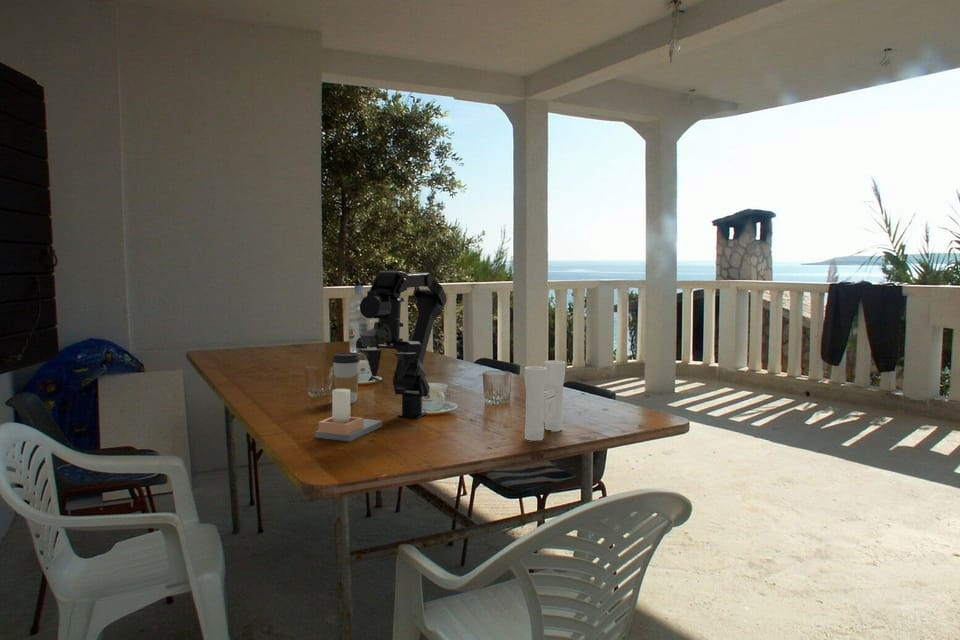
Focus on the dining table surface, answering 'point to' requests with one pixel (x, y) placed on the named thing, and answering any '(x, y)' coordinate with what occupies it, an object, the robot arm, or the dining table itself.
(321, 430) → the candle stand
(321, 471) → the dining table surface
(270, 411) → the dining table surface
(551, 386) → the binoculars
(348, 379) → the coffee cup
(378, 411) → the dining table surface
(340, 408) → the candle
